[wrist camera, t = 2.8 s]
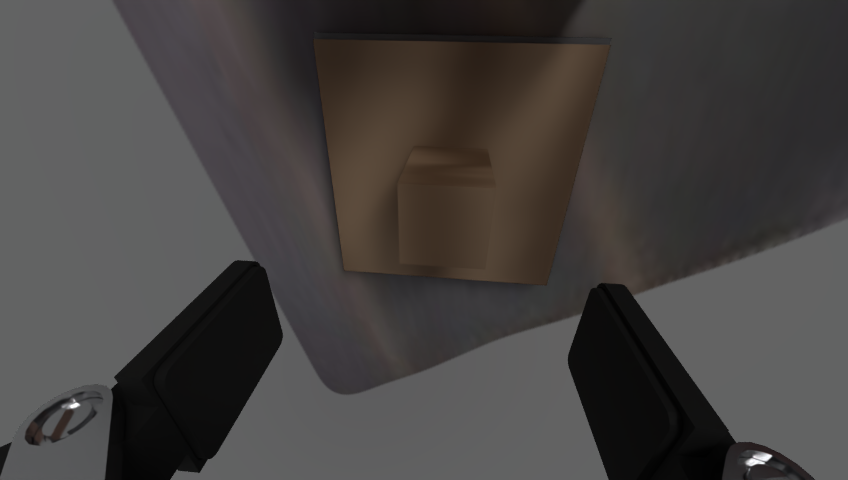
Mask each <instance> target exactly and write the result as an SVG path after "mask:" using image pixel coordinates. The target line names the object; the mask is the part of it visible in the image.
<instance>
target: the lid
mask: <svg viewBox="0 0 848 480" xmlns="http://www.w3.org/2000/svg"><path fill="white" fill-rule="evenodd" d="M313 43H314V51H315V58H316V66H317V73H318V80H319V88H320V95H321V103H322V110H323V118H324V125H325V132H326V140H327V147H328V155H329V162H330V169H331V177H332V184H333V192H334V199H335V206H336V214H337V221H338V229H339V236H340V243H341V251H342V258H343V266H344V270H345V271H358V272H372V273H385V274H399V275H412V276H426V277H439V278H453V279H467V280H480V281H494V282H507V283H521V284H534V285H547V282H548V278H549V275H550V271H551V267H552V263H553V260H554V256H555V252H556V248H557V245H558V241H559V237H560V233H561V230H562V226H563V222H564V218H565V215H566V211H567V207H568V203H569V200H570V196H571V192H572V188H573V185H574V181H575V177H576V173H577V170H578V166H579V162H580V158H581V155H582V151H583V147H584V143H585V140H586V136H587V132H588V128H589V125H590V121H591V117H592V113H593V110H594V106H595V102H596V98H597V95H598V91H599V87H600V83H601V80H602V76H603V72H604V68H605V65H606V61H607V57H608V53H609V50H610V46H611V45H590V44H540V43H490V42H439V41H389V40H339V39H313Z"/></svg>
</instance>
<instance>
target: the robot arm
mask: <svg viewBox="0 0 848 480" xmlns="http://www.w3.org/2000/svg"><path fill="white" fill-rule="evenodd" d="M282 338H283V333H282V329H281V325H280V321H279V318H278V314H277V310H276V307H275V303H274V299H273V296H272V292H271V288H270V284H269V281H268V277H267V273H266V270H265V268H264V267H261V266H260V264H259V263H258V262H256V261H239V260H237V261H234V262H233V263H232V264H231V265H230V266H229V267H228V268H227V269H226V270H224V271H223V273H221V274H220V275H219V276H218V277H217V278H216V279H215V280H214V281H213V282H212V283H211V284H210V285H209V286H208V287H207V288H206V289H205V290H204V291H203V292H202V293H201V294H200V295H199V296H198V297H197V298H195V299H194V300H193V302H191V303H190V304H189V305H188V306H187V307H186V308H185V309H184V310H183V311H182V312H181V313H180V314H179V315H178V316H177V317H176V318H175V319H174V320H173V321H172V322H171V323H170V324H169V325H168V326H167V327H165V328H164V329H163V330H162V331H161V332H160V333H159V334H158V335H157V336H156V337H155V338H154V339H153V340H152V341H151V342H150V343H149V344H148V345H147V346H146V347H145V348H144V349H143V350H142V351H141V352H140V353H139V354H137V356H135V357H134V358H133V359H132V360H131V361H130V362H129V363H128V364H127V365H126V366H125V367H124V368H123V369H122V370H121V371H120V372H119V373H118V374H117V375H116V376H115V377H114V378H115V379H116V380H117V382H118V383H117V384H116V385H115V386H114V387H113V388H112V389H109V388H108V387H107V386H104V385H98V384H94V385H86V386H82V387H79V388H75V389H72V390H70V391H67V392H65V393H63V394H61V395H59V396H57V397H55V398H53V399H52V400H50V401H48V402H47V403H45V404H43V405H42V406H41V407H40V408H38V409H37V410H36V411H35V412H33V413H32V414H31V415H30V416H29V417H28V418H27V419H26V420H25V421H24V422H23V423H22V424H21V426H20V427H19V428H18V430H17V432H16V434H15V436H14V437H13V441H12V442H11V443H9V444H7V445H4V446H2V447H0V480H170V479H171V478H172V476H173V475H174V473H175V472H176V470H177V469H178V470H179V471H188V472H198V473H200V471H201V470H202V468H203V466H204V465H205V463H206V461H207V460H208V459H211V458H213V457H214V456H215V455H216V453H217V452H218V450H219V448H220V447H221V445H222V443H223V442H224V440H225V438H226V437H227V435H228V433H229V431H230V430H231V428H232V426H233V425H234V423H235V421H236V420H237V418H238V416H239V415H240V413H241V411H242V409H243V407H244V406H245V404H246V402H247V401H248V399H249V397H250V396H251V394H252V392H253V391H254V389H255V387H256V386H257V384H258V382H259V380H260V379H261V377H262V375H263V374H264V372H265V370H266V369H267V367H268V365H269V363H270V362H271V360H272V358H273V356H274V355H275V353H276V352H277V350H278V348H279V346H280V345H281V342H282ZM568 365H569V369H570V372H571V375H572V377H573V380H574V383H575V386H576V389H577V391H578V394H579V397H580V400H581V403H582V406H583V408H584V411H585V414H586V417H587V419H588V422H589V425H590V428H591V431H592V434H593V436H594V439H595V442H596V445H597V448H598V451H599V453H600V456H601V459H602V462H603V465H604V468H605V470H606V473H607V476H608V479H609V480H815V479H814V478H813V477H811V475H809V474H808V473H807V472H806V471H805V470H804V469H802V468H801V467H800V466H799V465H798V464H796V463H795V462H793V461H792V460H790V459H788V458H787V457H785V456H784V455H782V454H781V453H778V452H776V451H774V450H772V449H770V448H768V447H766V446H763V445H759V444H755V443H752V442H738V443H736V442H735V440H734V439H733V438H732V436H731V435H730V433H729V432H728V431H729V430H728V429H727V427H726V426H725V425H724V423H723V422H722V421H721V419H720V418H719V416H718V415H717V414H716V412H715V411H714V409H713V408H712V406H711V405H710V404H709V402H708V401H707V399H706V398H705V397H704V395H703V394H702V392H701V391H700V390H699V388H698V387H697V385H696V384H695V383H694V381H693V380H692V379H691V377H690V376H689V374H688V373H687V371H686V370H685V369H684V367H683V366H682V364H681V363H680V362H679V360H678V359H677V357H676V356H675V355H674V353H673V352H672V350H671V349H670V348H669V346H668V345H667V343H666V342H665V341H664V339H663V338H662V336H661V335H660V334H659V332H658V331H657V330H656V328H655V327H654V325H653V324H652V322H651V321H650V320H649V318H648V317H647V315H646V314H645V313H644V311H643V310H642V308H641V307H640V306H639V304H638V303H637V301H636V300H635V299H634V297H633V296H632V294H631V293H630V292H629V290H628V289H627V287H626V286H625V285H622V284H607V283H601V284H599V285H598V286H597V288H592V289H591V291H590V293H589V296H588V299H587V302H586V305H585V308H584V310H583V313H582V316H581V319H580V322H579V325H578V328H577V331H576V334H575V337H574V340H573V343H572V346H571V348H570V352H569V355H568Z"/></svg>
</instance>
